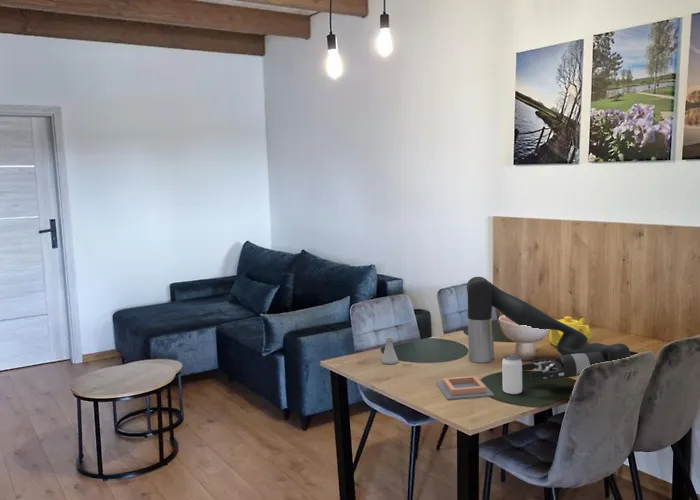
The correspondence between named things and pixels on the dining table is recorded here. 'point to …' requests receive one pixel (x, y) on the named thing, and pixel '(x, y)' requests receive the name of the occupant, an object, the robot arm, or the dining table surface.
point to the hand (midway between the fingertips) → (526, 371)
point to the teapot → (578, 325)
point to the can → (512, 374)
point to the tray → (463, 388)
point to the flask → (389, 353)
